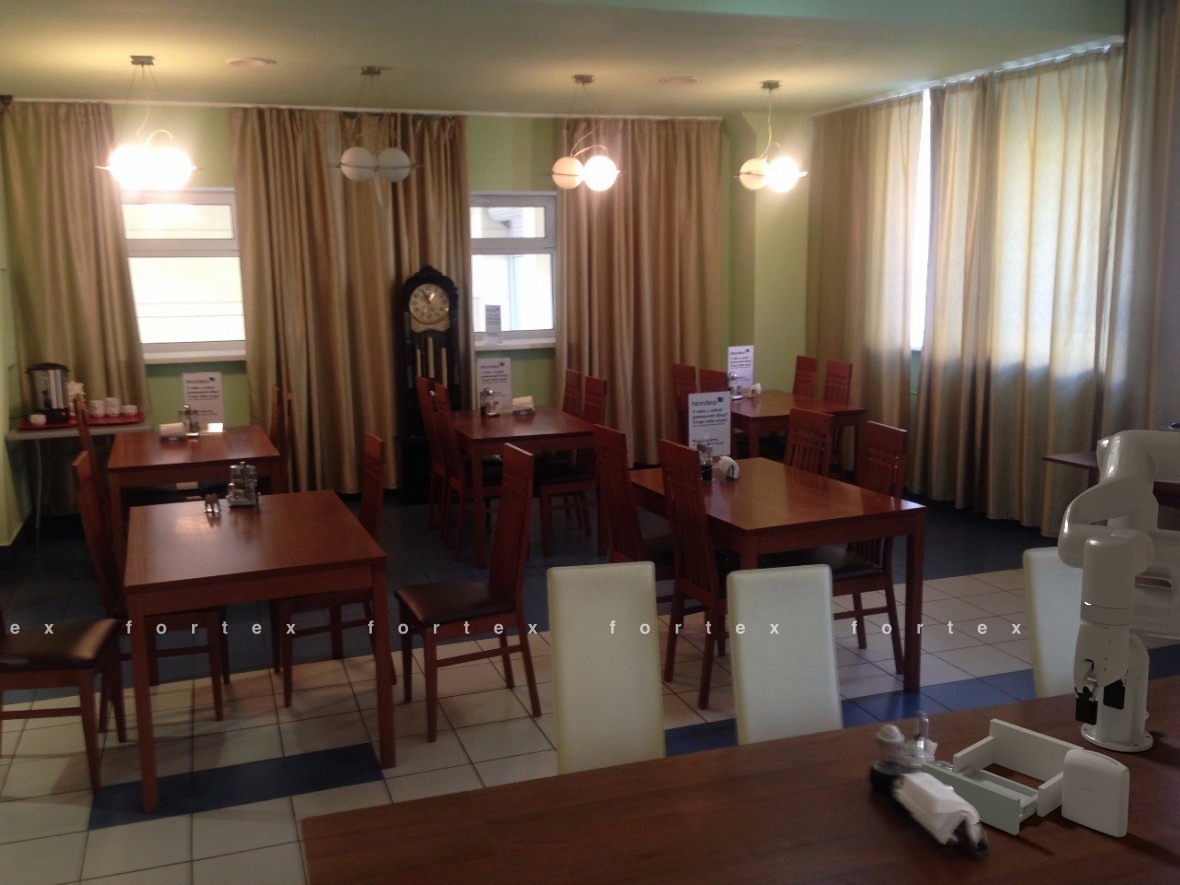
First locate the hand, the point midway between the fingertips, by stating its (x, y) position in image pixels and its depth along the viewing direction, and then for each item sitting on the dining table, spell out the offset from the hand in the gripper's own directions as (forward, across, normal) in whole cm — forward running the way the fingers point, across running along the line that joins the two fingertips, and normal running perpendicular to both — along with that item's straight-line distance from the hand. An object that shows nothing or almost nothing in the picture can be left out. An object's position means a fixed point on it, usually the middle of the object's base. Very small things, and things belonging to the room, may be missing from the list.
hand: (1099, 714), depth 167 cm
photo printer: (+20, -1, 0) cm, 20 cm away
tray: (+19, +6, -15) cm, 25 cm away
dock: (+19, -4, -15) cm, 25 cm away
